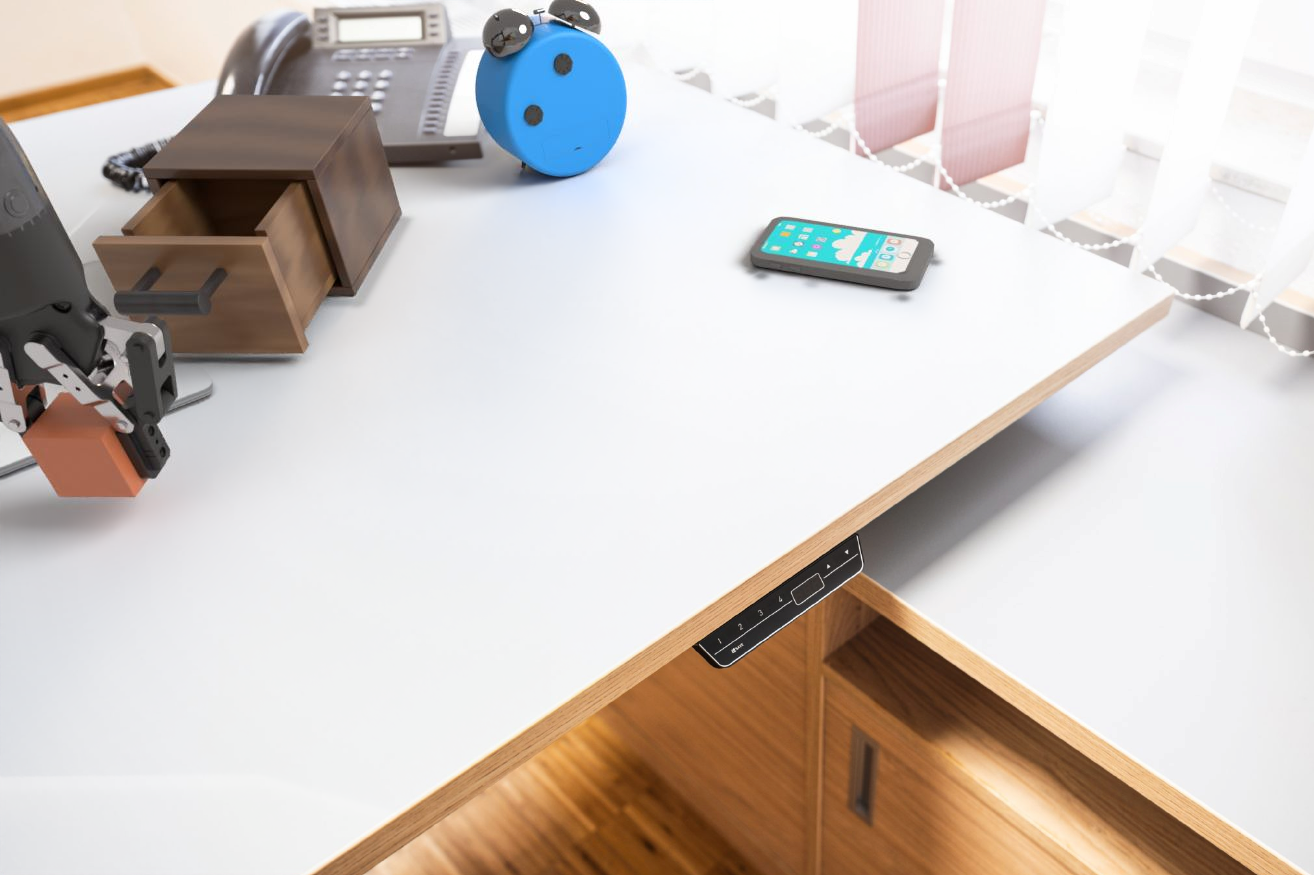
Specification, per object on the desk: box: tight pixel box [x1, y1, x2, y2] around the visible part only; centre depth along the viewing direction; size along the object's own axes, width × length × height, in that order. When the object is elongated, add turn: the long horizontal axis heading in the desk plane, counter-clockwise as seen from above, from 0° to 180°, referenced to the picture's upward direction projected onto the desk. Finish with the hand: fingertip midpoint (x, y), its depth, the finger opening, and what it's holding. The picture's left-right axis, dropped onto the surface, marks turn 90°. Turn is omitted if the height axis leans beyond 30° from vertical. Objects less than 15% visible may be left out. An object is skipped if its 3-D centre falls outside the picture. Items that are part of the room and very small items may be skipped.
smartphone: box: [749, 216, 935, 290], centre depth 91 cm, size 9×1×15 cm
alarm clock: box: [474, 0, 628, 177], centre depth 98 cm, size 13×6×15 cm, turn 131°
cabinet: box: [141, 93, 403, 297], centre depth 87 cm, size 15×13×11 cm
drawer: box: [91, 179, 339, 355], centre depth 77 cm, size 18×11×9 cm, turn 2°
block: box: [21, 391, 149, 498], centre depth 63 cm, size 4×4×4 cm
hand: (111, 469), depth 64 cm, fingers closed on block, 4 cm apart
